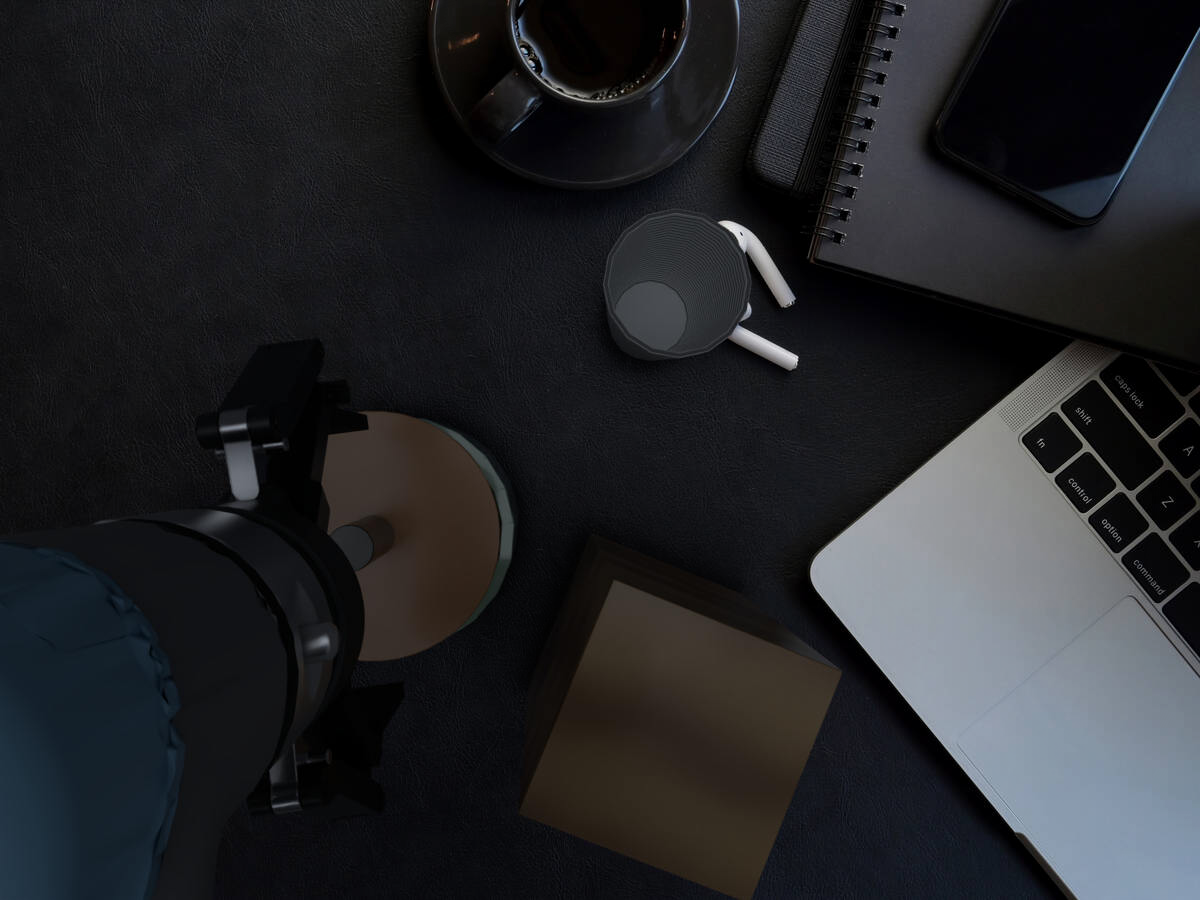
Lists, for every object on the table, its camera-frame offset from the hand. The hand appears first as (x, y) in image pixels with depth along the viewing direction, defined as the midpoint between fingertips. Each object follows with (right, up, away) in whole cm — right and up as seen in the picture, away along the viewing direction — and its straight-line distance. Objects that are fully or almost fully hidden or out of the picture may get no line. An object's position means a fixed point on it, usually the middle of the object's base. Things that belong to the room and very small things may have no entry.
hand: (359, 559), depth 47 cm
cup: (+16, +15, +21) cm, 31 cm away
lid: (-2, 0, +11) cm, 11 cm away
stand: (+15, -8, +21) cm, 27 cm away
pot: (-1, 0, +20) cm, 20 cm away
